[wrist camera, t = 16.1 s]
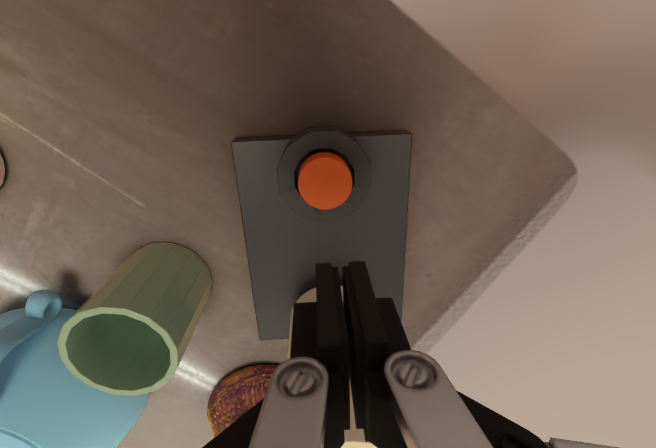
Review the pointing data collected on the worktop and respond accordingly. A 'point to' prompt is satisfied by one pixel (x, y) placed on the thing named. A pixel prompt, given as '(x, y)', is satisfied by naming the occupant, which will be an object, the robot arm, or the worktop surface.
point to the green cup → (137, 321)
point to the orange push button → (324, 180)
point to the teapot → (53, 386)
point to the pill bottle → (1, 170)
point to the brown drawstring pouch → (237, 395)
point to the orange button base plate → (321, 216)
